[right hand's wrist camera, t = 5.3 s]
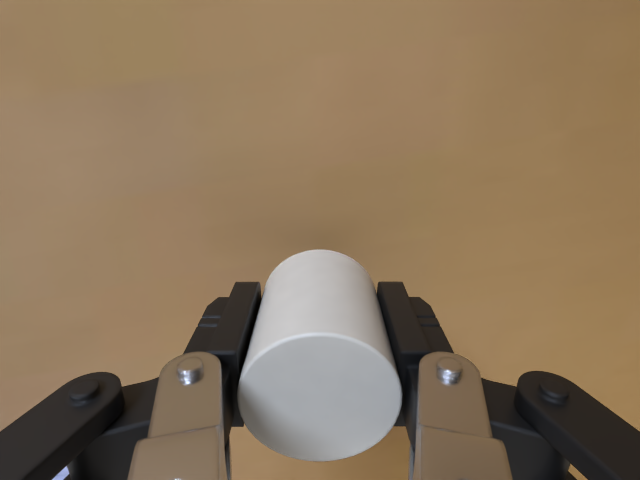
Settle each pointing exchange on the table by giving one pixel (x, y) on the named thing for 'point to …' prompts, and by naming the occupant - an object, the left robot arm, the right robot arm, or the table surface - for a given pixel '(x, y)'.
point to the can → (319, 361)
